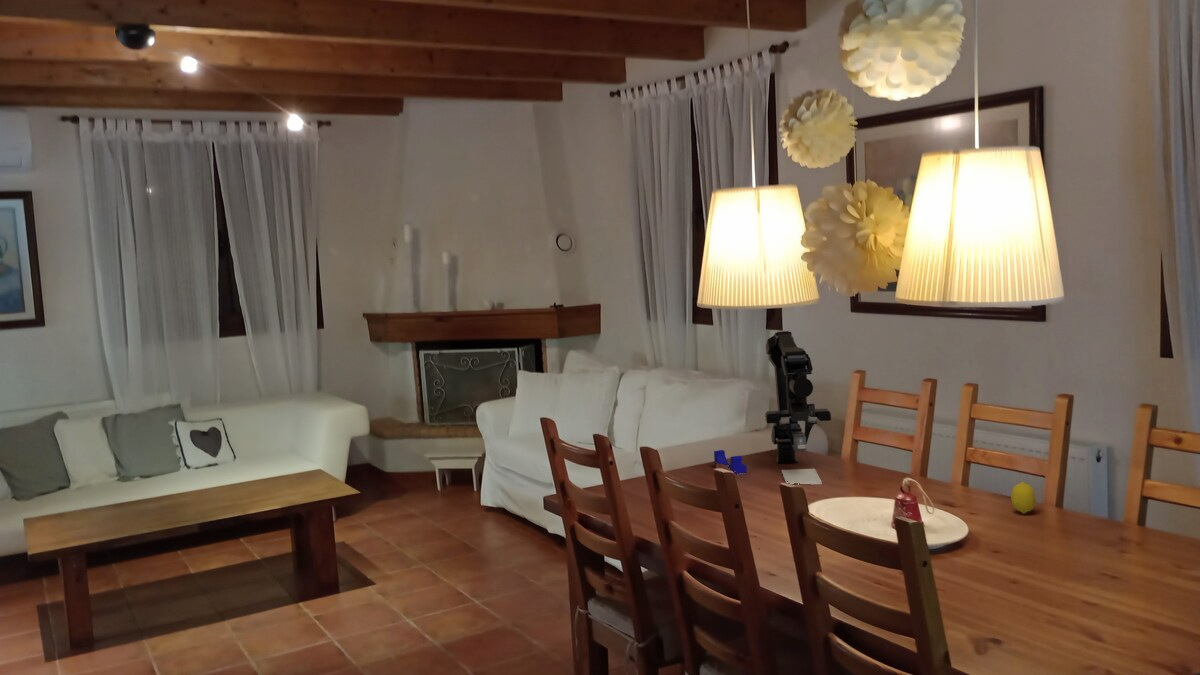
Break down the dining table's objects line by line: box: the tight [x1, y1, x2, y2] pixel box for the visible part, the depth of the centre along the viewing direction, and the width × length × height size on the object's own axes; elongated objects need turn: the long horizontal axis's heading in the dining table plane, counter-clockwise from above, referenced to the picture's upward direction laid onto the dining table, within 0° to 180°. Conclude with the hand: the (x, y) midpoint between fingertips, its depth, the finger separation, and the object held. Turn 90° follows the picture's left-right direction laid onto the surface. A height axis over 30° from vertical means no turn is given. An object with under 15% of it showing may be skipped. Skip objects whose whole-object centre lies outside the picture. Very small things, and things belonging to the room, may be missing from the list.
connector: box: [792, 431, 807, 452], centre depth 281 cm, size 4×12×4 cm, turn 174°
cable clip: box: [713, 449, 748, 475], centre depth 296 cm, size 12×4×6 cm, turn 22°
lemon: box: [1010, 481, 1037, 515], centre depth 232 cm, size 6×6×8 cm
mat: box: [781, 468, 823, 486], centre depth 282 cm, size 16×10×1 cm, turn 174°
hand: (799, 444), depth 282 cm, fingers closed on connector, 3 cm apart
